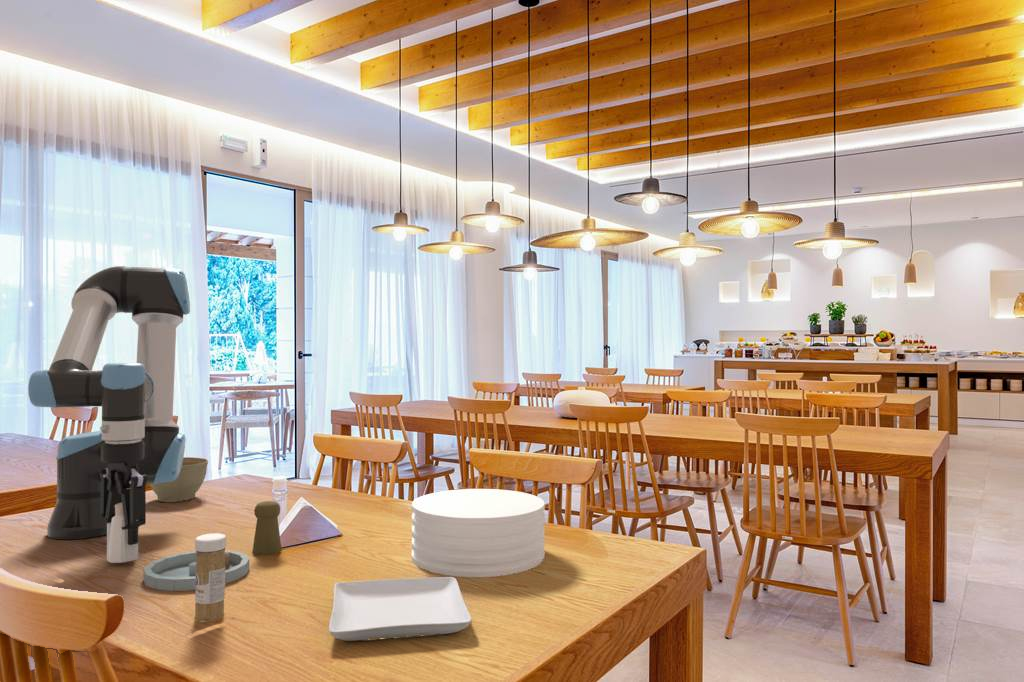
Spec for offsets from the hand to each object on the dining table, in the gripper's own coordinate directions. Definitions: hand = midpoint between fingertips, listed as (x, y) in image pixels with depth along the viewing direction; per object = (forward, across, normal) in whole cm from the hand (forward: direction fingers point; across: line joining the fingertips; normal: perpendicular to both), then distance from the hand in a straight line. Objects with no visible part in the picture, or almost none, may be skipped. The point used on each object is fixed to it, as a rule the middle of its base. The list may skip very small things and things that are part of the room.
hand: (122, 557), depth 139 cm
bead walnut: (+1, +23, +6) cm, 24 cm away
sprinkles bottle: (+1, +40, -6) cm, 40 cm away
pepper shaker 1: (+1, 0, 0) cm, 1 cm away
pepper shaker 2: (+2, +16, +22) cm, 27 cm away
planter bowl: (+3, -50, +41) cm, 64 cm away
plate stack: (+2, +54, +47) cm, 71 cm away
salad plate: (+1, +64, +12) cm, 65 cm away
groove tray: (+1, +18, +5) cm, 19 cm away
